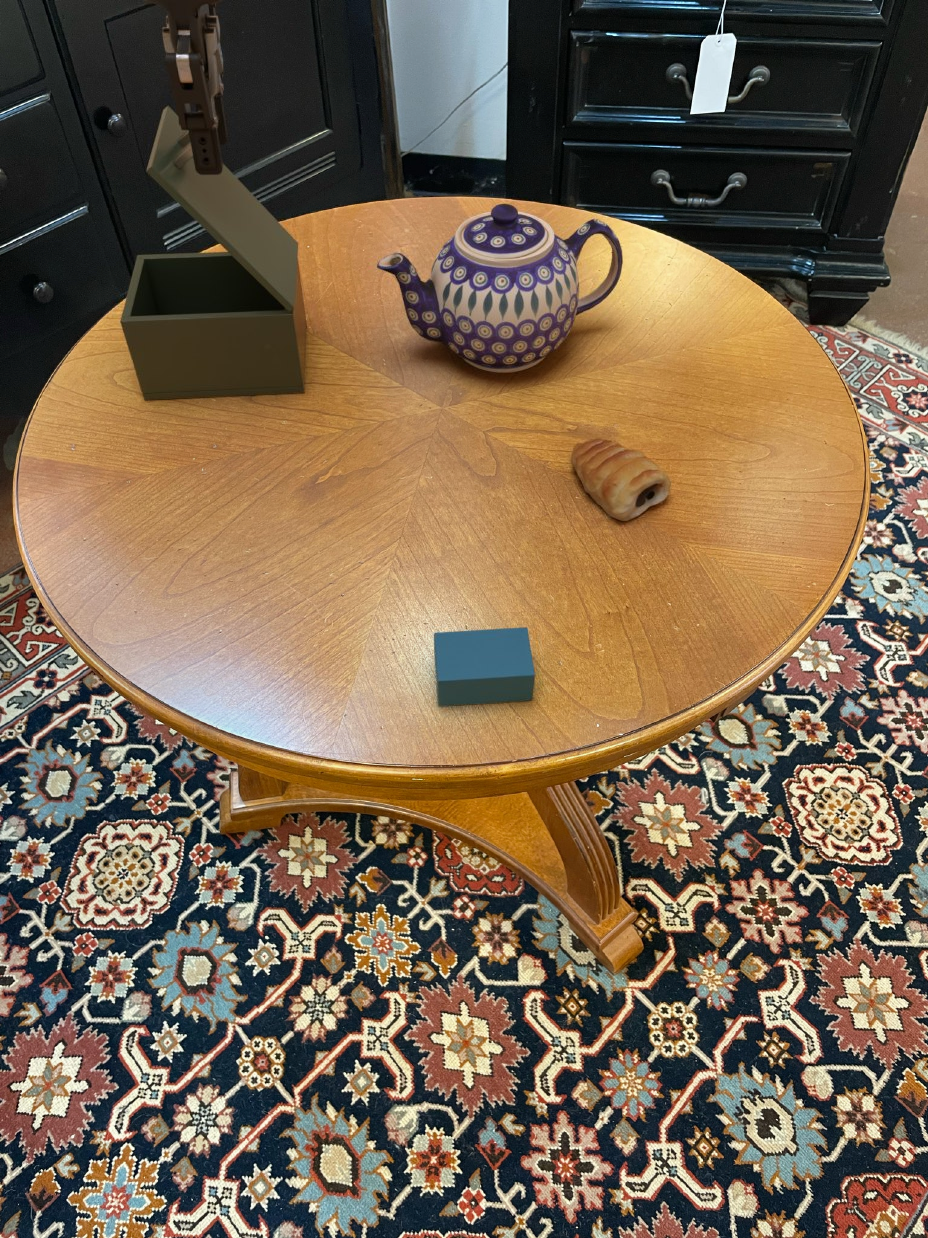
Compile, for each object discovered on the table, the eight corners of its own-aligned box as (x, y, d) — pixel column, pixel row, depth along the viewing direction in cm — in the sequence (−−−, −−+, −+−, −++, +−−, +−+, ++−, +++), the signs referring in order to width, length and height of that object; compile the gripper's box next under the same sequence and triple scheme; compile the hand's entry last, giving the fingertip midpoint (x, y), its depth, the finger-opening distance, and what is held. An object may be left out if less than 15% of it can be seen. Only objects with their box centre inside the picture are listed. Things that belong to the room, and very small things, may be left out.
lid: (145, 171, 77) (187, 132, 75) (162, 110, 84) (201, 73, 82) (289, 312, 87) (329, 281, 85) (293, 247, 95) (330, 217, 93)
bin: (144, 400, 93) (119, 321, 87) (158, 332, 101) (137, 254, 94) (304, 393, 94) (292, 314, 88) (307, 326, 102) (296, 248, 95)
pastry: (551, 471, 87) (554, 437, 84) (606, 443, 90) (611, 410, 87) (621, 529, 82) (627, 496, 79) (676, 498, 85) (685, 465, 82)
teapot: (592, 292, 106) (608, 157, 95) (637, 370, 97) (662, 231, 86) (370, 319, 103) (359, 182, 91) (396, 403, 93) (387, 263, 82)
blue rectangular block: (438, 706, 70) (437, 681, 68) (434, 658, 73) (433, 632, 71) (532, 700, 71) (535, 675, 68) (525, 652, 74) (527, 626, 71)
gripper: (132, -109, 73) (176, 122, 86) (104, -52, 64) (158, 197, 77) (232, -108, 74) (261, 121, 87) (218, -51, 65) (252, 196, 78)
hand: (212, 156), depth 82 cm, fingers closed on lid, 5 cm apart
